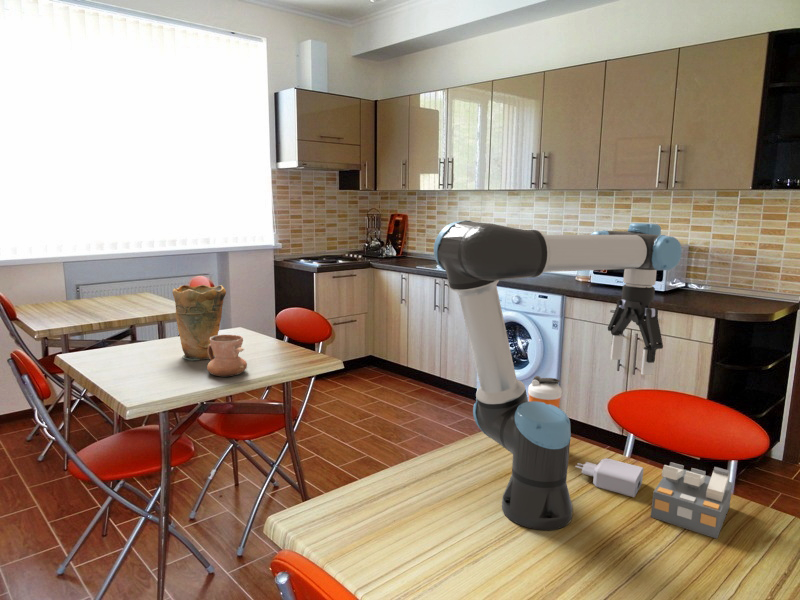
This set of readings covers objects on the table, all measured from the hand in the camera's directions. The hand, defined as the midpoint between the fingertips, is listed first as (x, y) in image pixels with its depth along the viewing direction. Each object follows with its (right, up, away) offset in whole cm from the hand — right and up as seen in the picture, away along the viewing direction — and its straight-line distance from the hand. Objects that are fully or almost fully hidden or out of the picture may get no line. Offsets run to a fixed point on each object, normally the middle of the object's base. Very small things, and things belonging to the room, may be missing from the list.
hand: (630, 366), depth 149 cm
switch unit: (+6, -30, -20) cm, 37 cm away
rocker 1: (+2, -22, -19) cm, 29 cm away
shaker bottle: (-20, -24, +12) cm, 34 cm away
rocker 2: (+6, -22, -21) cm, 31 cm away
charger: (-9, -28, -7) cm, 30 cm away
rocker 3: (+9, -23, -24) cm, 34 cm away
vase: (-142, -7, +94) cm, 171 cm away
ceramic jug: (-126, -11, +72) cm, 145 cm away
